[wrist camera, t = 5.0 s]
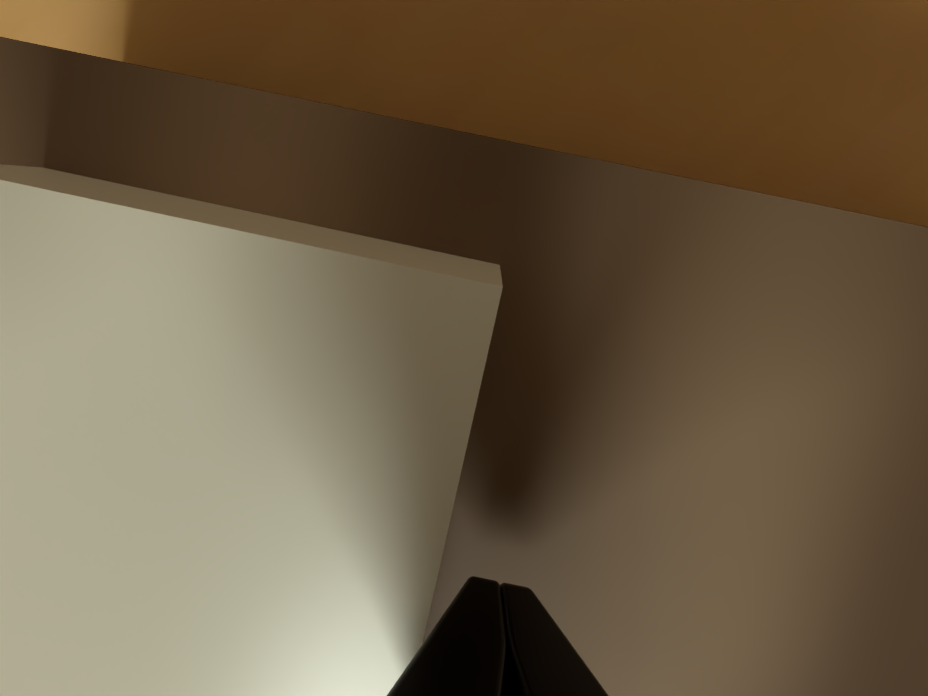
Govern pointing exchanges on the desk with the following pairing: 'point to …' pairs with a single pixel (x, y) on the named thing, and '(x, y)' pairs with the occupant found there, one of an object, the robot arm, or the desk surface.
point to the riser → (604, 372)
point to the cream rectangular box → (222, 443)
